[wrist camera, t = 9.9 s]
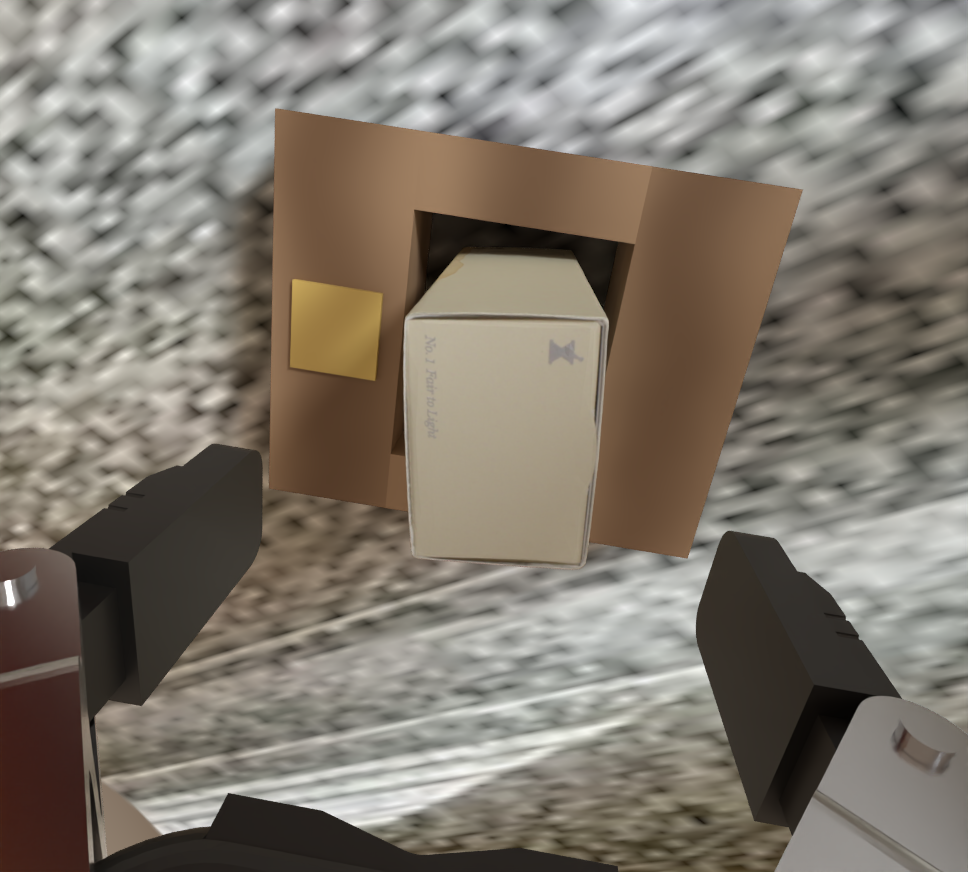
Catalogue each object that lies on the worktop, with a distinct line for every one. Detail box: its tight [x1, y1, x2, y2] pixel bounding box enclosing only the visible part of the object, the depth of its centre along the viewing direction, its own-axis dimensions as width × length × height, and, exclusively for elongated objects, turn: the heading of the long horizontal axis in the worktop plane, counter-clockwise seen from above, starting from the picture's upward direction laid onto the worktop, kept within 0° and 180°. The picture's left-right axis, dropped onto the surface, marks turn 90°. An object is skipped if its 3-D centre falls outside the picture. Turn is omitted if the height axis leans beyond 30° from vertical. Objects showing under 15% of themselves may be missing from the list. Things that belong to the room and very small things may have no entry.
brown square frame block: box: [269, 108, 802, 558], centre depth 23 cm, size 16×13×4 cm
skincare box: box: [403, 247, 609, 570], centre depth 20 cm, size 6×4×12 cm
